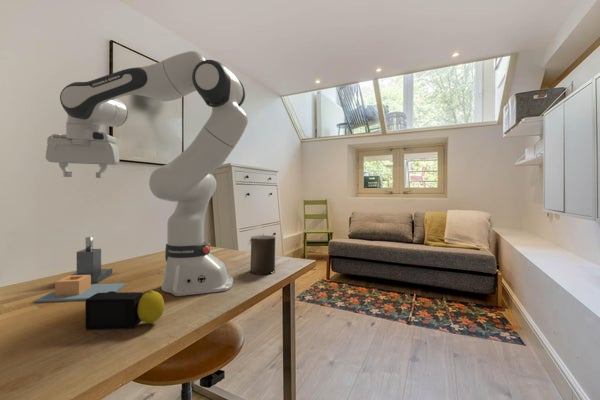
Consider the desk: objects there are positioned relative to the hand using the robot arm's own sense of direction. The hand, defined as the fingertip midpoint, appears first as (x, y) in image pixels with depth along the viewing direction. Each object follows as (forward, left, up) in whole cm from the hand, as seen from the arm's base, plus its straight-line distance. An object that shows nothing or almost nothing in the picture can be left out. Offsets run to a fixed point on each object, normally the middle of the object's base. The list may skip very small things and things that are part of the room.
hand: (83, 177), depth 91 cm
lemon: (-32, +34, -35) cm, 59 cm away
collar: (-3, +11, -34) cm, 36 cm away
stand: (0, -3, -35) cm, 35 cm away
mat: (-6, +11, -35) cm, 37 cm away
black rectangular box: (-24, +33, -35) cm, 54 cm away
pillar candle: (-60, -6, -35) cm, 70 cm away
